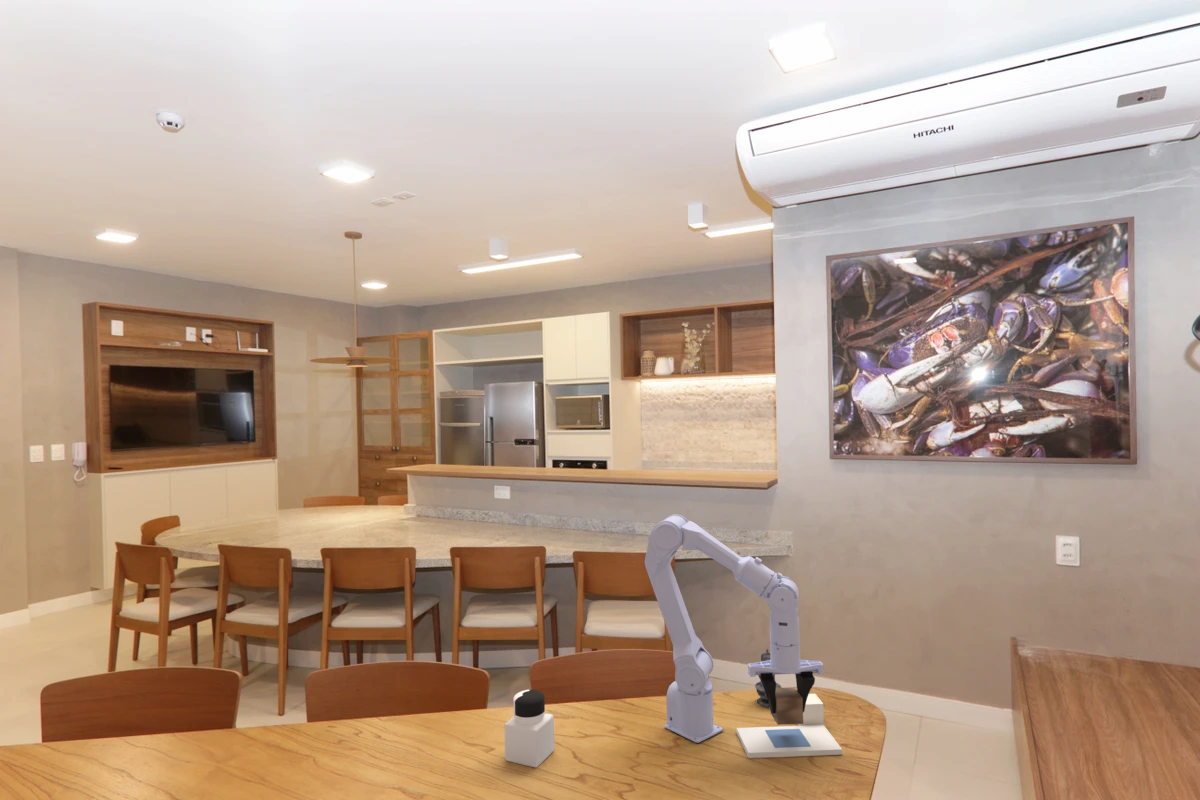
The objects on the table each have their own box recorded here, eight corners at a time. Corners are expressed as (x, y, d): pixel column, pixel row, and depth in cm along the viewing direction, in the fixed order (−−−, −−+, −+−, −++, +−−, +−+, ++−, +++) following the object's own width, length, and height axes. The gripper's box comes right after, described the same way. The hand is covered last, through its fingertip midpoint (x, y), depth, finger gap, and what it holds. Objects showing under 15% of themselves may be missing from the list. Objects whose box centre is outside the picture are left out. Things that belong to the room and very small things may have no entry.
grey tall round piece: (785, 708, 149) (783, 653, 149) (758, 708, 149) (756, 653, 149) (778, 696, 155) (777, 644, 155) (752, 697, 155) (751, 644, 155)
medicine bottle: (555, 750, 133) (553, 689, 133) (536, 768, 126) (535, 704, 126) (523, 743, 136) (522, 683, 136) (504, 761, 129) (503, 698, 129)
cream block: (800, 729, 139) (799, 704, 139) (792, 717, 144) (791, 694, 144) (824, 728, 140) (823, 703, 140) (815, 717, 145) (815, 693, 145)
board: (748, 758, 128) (748, 752, 128) (736, 732, 138) (736, 727, 138) (842, 754, 129) (842, 748, 129) (823, 729, 139) (823, 724, 139)
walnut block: (777, 724, 131) (776, 698, 131) (770, 713, 136) (769, 688, 136) (803, 723, 131) (802, 697, 131) (795, 712, 136) (794, 687, 136)
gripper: (814, 633, 138) (816, 700, 138) (743, 636, 137) (745, 703, 137) (826, 645, 131) (828, 716, 131) (752, 648, 130) (754, 719, 130)
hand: (786, 710), depth 133 cm, fingers closed on walnut block, 5 cm apart
